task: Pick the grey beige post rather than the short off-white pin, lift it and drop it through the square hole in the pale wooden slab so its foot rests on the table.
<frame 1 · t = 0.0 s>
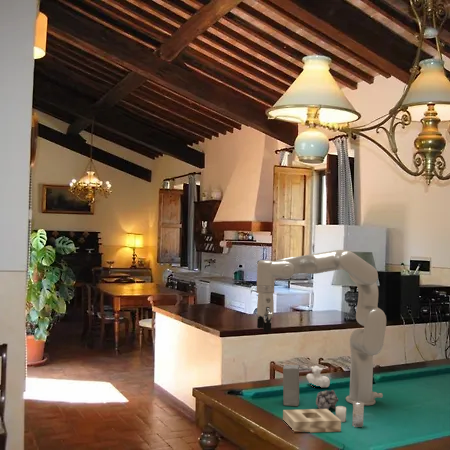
hand: (263, 330, 244), 31 cm above the table, tool pointing down, fingers open, 9 cm apart
skincare box: (290, 403, 247), on the table
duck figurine: (317, 387, 275), on the table
short white pin: (340, 420, 227), on the table
hole slab: (311, 425, 219), on the table
grey beige post: (357, 426, 221), on the table
mineral specimen: (325, 410, 240), on the table
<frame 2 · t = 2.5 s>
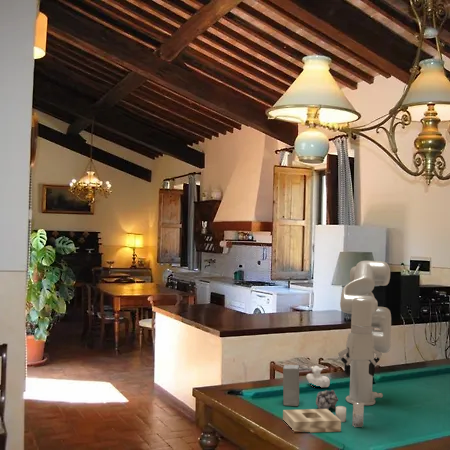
hand: (359, 375, 221), 20 cm above the table, tool pointing down, fingers open, 9 cm apart
nothing on the table moved.
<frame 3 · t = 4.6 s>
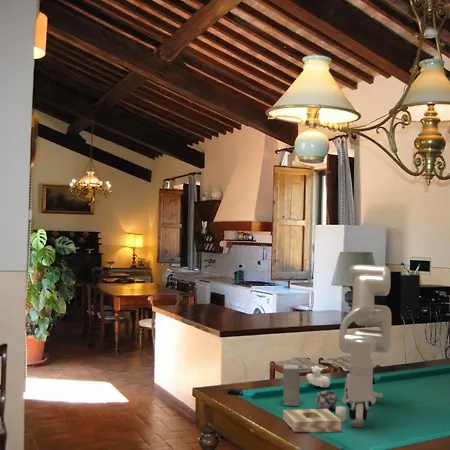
hand: (357, 418, 221), 3 cm above the table, tool pointing down, fingers closed on grey beige post, 4 cm apart
grey beige post: (357, 426, 221), on the table, touching gripper
everything else where it was.
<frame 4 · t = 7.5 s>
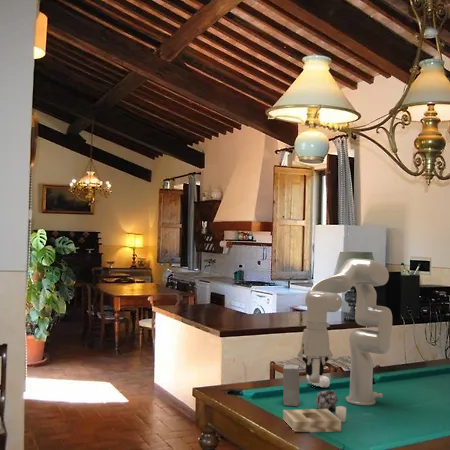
hand: (314, 374, 219), 20 cm above the table, tool pointing down, fingers closed on grey beige post, 4 cm apart
grey beige post: (314, 381, 219), point 17 cm above the table, touching gripper
everything else where it was.
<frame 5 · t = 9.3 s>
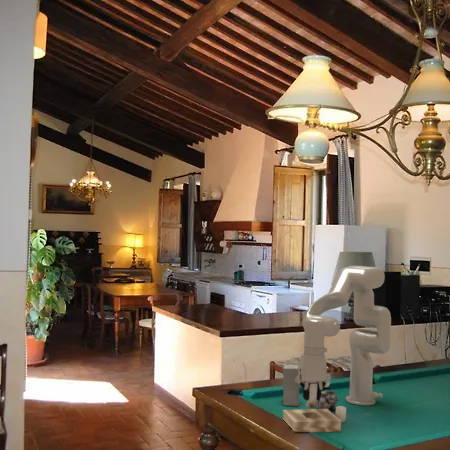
hand: (311, 399, 219), 10 cm above the table, tool pointing down, fingers closed on grey beige post, 4 cm apart
grey beige post: (311, 406, 219), point 7 cm above the table, touching gripper
everything else where it was.
when the fingers open (6 cm above the table, at t = 10.5 s): grey beige post drops 3 cm, resting in hole slab.
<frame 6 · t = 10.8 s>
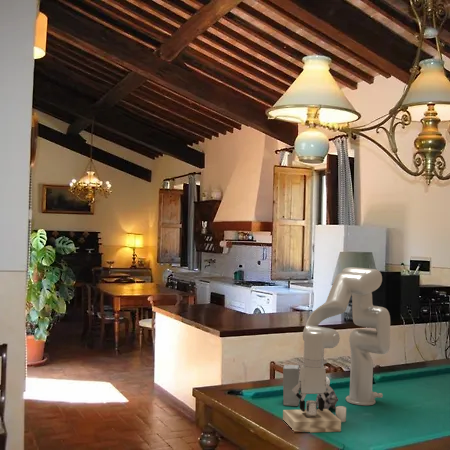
hand: (311, 409, 219), 6 cm above the table, tool pointing down, fingers open, 6 cm apart
grey beige post: (311, 425, 219), resting in hole slab
everything else where it was.
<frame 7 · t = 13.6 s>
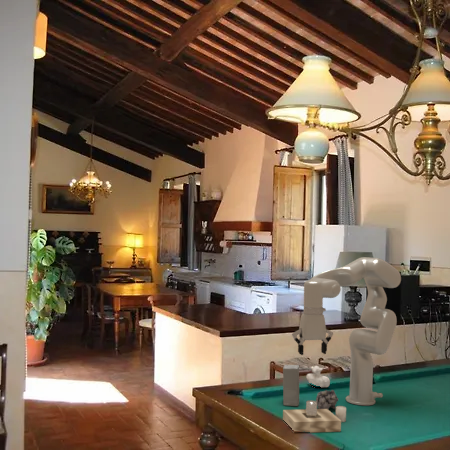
hand: (312, 353, 233), 24 cm above the table, tool pointing down, fingers open, 9 cm apart
nothing on the table moved.
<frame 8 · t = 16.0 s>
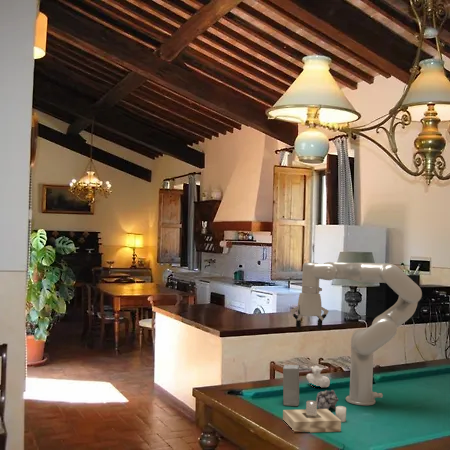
hand: (309, 329, 257), 30 cm above the table, tool pointing down, fingers open, 9 cm apart
nothing on the table moved.
at the end: grey beige post 0.0 cm off-centre on the hole slab, point 0.0 cm above the hole slab's base; grey beige post tilted 1°; short white pin moved 0.1 cm from its start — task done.
